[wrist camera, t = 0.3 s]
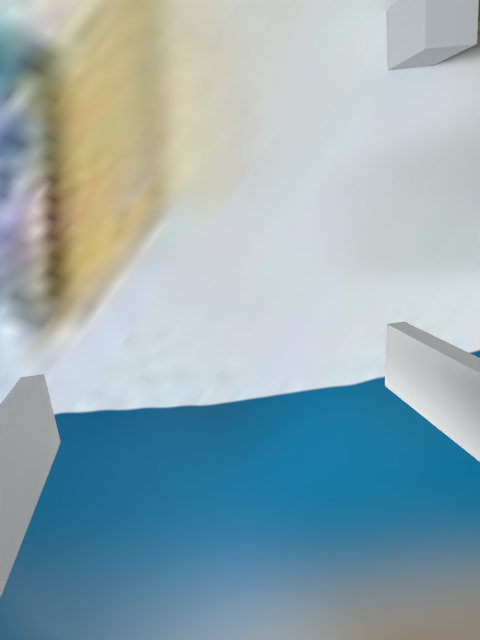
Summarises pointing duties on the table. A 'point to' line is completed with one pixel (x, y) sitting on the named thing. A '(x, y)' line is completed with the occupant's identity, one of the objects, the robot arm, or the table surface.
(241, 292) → the table surface
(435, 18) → the grey block
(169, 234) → the table surface
